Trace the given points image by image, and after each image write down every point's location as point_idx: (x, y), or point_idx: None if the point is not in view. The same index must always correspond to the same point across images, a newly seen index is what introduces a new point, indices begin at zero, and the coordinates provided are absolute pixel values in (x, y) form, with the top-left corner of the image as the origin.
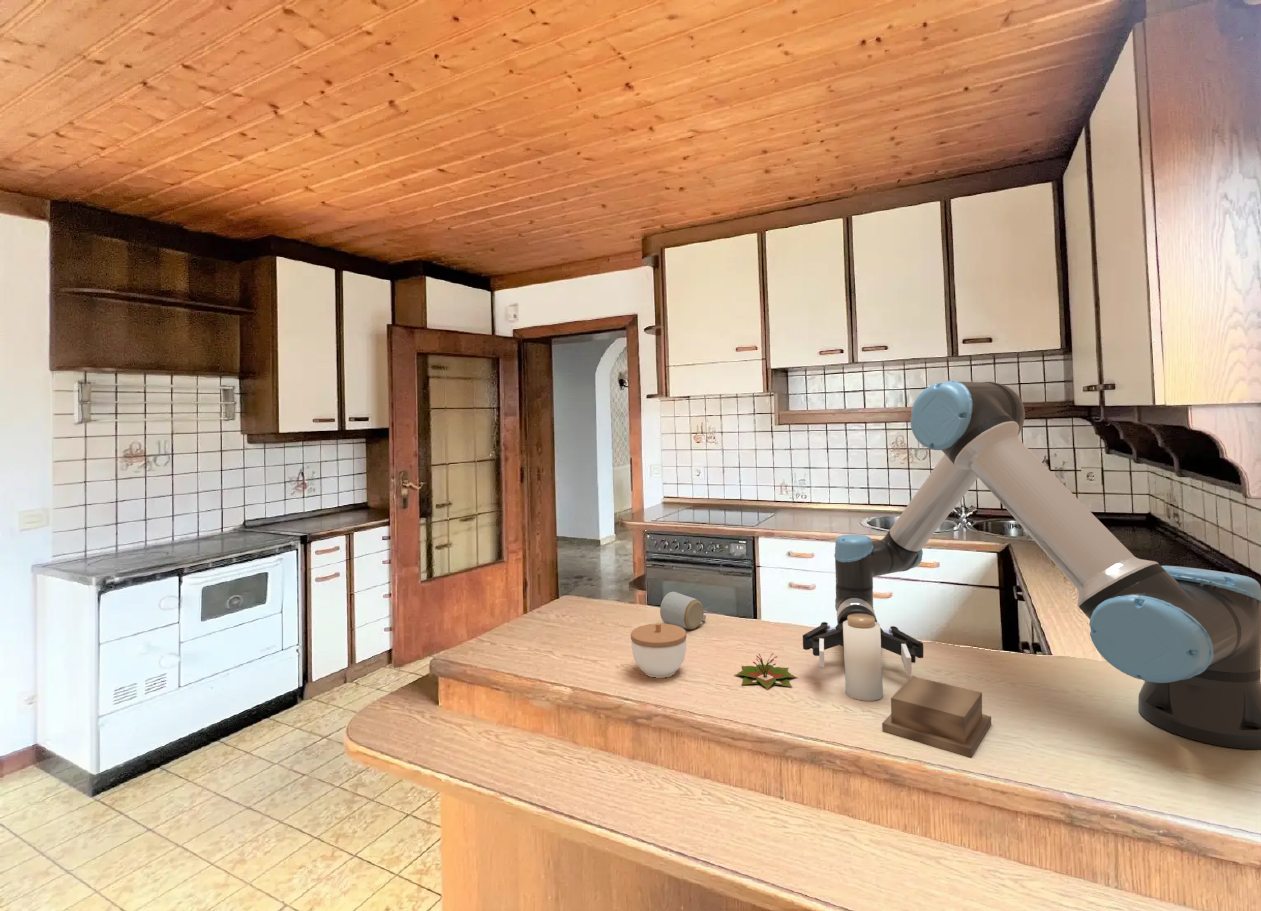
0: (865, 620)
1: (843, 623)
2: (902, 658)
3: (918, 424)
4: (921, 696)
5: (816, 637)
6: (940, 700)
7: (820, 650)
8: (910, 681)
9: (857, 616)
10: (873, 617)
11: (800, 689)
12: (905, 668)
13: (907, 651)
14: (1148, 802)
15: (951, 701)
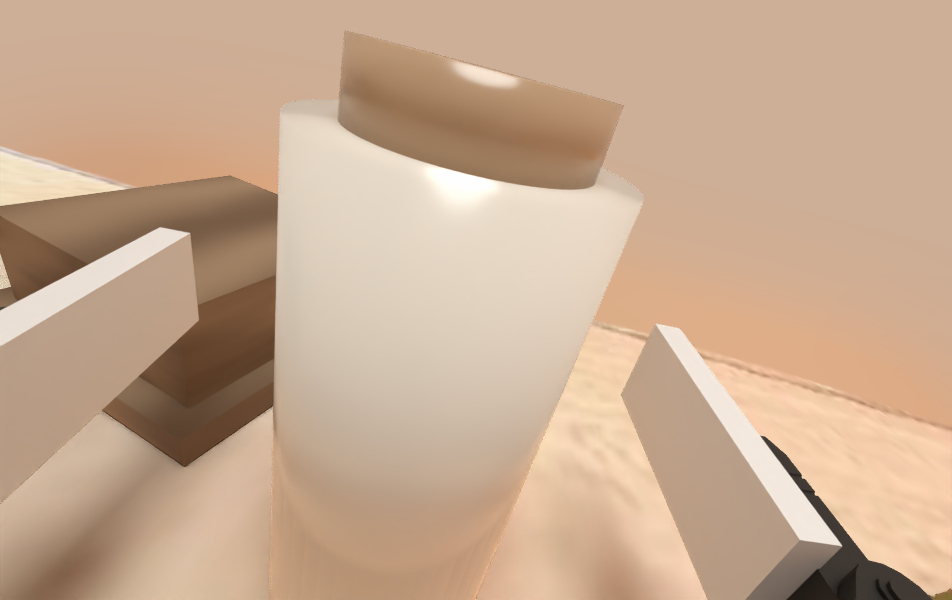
0: (455, 59)
1: (630, 186)
2: (42, 432)
3: None
4: (274, 227)
5: (892, 582)
6: (226, 210)
7: (678, 334)
8: (234, 284)
9: (523, 78)
10: (358, 34)
11: (698, 579)
12: (174, 328)
13: (80, 276)
14: (21, 167)
15: (194, 203)
